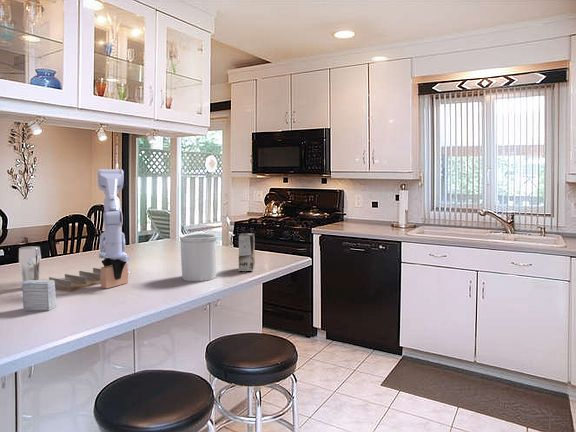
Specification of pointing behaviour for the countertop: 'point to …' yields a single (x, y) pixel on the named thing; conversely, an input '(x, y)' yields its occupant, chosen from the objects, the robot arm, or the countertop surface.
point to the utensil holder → (198, 256)
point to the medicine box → (39, 295)
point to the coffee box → (246, 251)
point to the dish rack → (78, 280)
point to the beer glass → (30, 262)
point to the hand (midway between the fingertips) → (114, 278)
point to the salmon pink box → (109, 278)
